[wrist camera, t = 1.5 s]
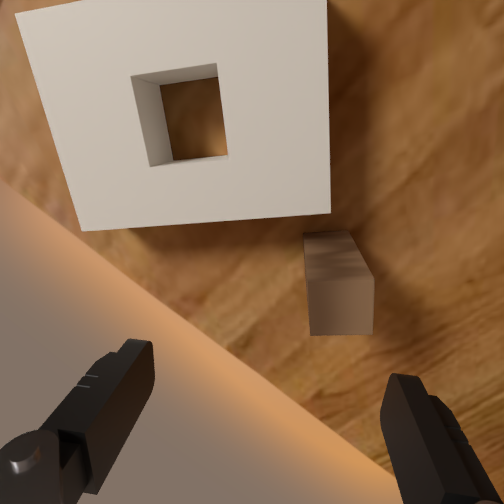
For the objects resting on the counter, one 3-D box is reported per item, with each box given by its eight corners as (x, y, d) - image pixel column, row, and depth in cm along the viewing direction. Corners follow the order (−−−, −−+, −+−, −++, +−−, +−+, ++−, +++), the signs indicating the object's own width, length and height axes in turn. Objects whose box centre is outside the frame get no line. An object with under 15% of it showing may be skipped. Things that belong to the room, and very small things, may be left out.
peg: (348, 230, 28) (374, 279, 19) (348, 270, 30) (372, 334, 20) (303, 233, 29) (307, 282, 20) (305, 272, 30) (310, 335, 21)
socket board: (319, -11, 22) (325, -48, 18) (324, 199, 28) (330, 213, 23) (65, 34, 25) (14, 13, 21) (114, 215, 31) (82, 231, 26)
